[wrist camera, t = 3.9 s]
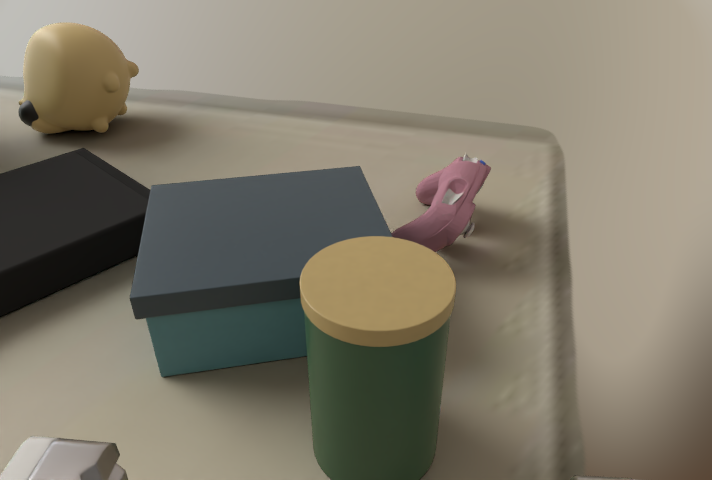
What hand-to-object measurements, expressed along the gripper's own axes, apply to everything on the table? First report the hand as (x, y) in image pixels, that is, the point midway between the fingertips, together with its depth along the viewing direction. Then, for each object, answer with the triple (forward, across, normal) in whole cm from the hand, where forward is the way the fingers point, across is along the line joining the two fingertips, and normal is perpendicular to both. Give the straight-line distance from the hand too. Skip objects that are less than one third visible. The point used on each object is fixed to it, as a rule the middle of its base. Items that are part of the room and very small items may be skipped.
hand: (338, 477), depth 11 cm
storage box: (+23, +7, +15) cm, 28 cm away
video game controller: (+31, -4, +15) cm, 35 cm away
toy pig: (+50, +32, +15) cm, 61 cm away
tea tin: (+12, 0, +15) cm, 19 cm away
